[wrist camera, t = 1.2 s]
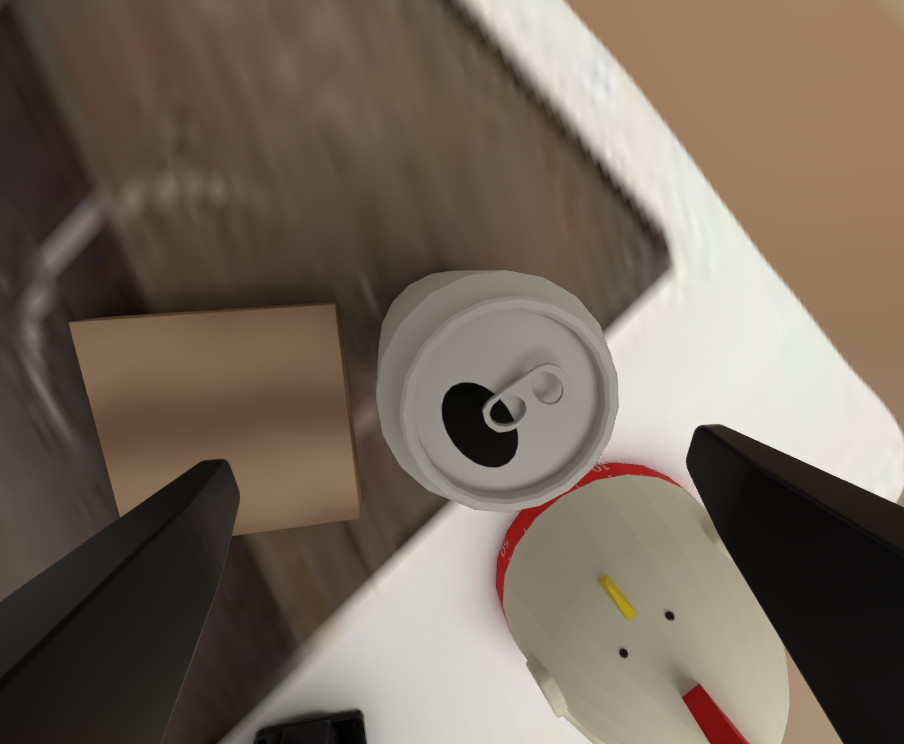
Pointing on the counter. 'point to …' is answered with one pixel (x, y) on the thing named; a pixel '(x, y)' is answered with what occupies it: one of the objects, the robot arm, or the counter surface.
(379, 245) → the counter surface
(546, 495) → the can
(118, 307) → the counter surface
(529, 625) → the kitchen timer
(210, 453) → the brown flat square block
